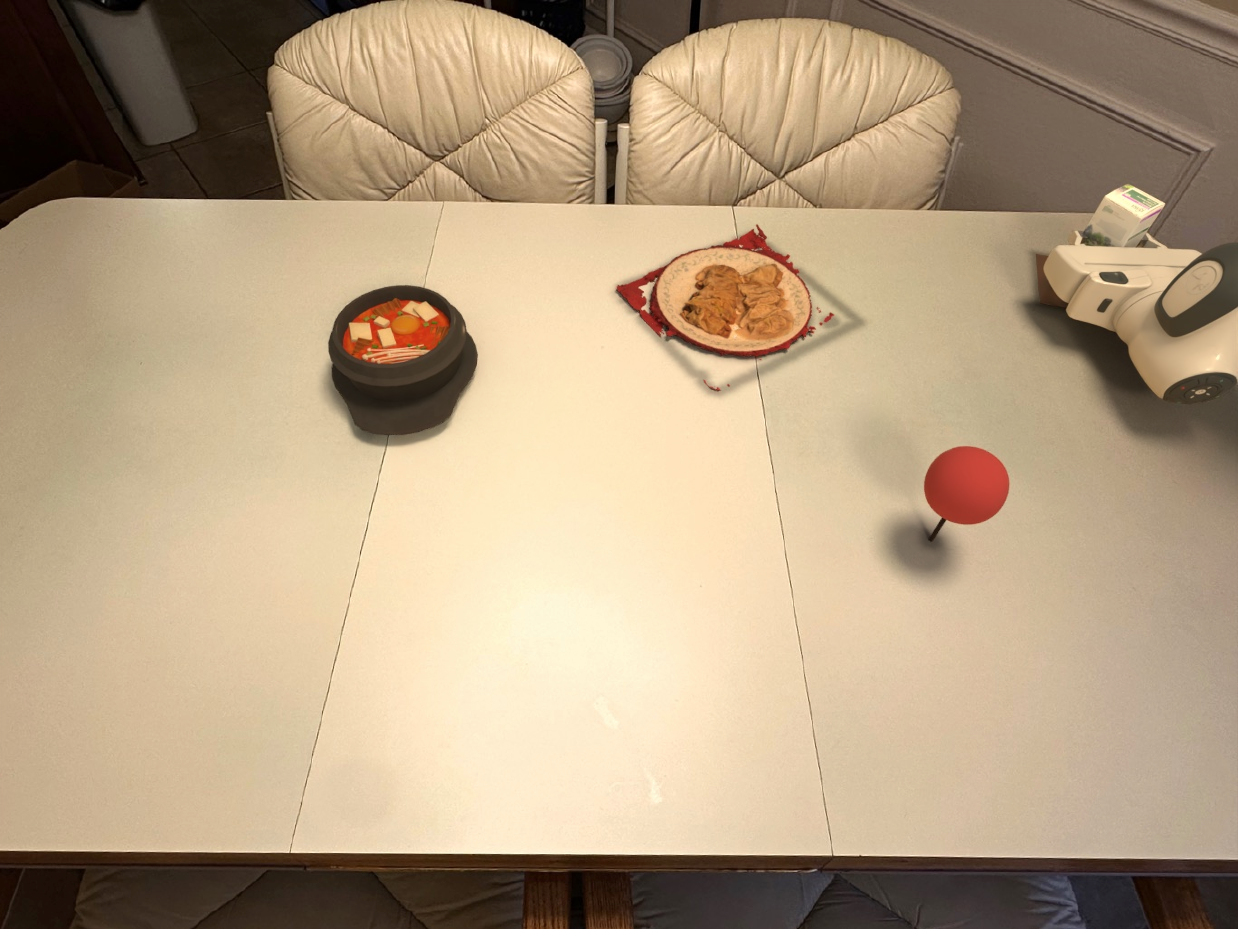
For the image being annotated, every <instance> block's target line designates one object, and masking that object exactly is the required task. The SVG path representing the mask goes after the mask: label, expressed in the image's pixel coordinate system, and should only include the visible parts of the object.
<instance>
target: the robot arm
mask: <svg viewBox="0 0 1238 929" xmlns="http://www.w3.org/2000/svg"><path fill="white" fill-rule="evenodd" d="M1087 238H1088V237H1087V235H1086V234H1085V231H1084V230H1072V231H1071V232H1070V234H1069V236H1068V237H1067V243H1068V244H1058V245H1056V246H1055V247H1054V248H1053V249H1052V250H1051V252H1050V253H1049V255H1047V256H1048V258H1047V260H1046V262H1045V264H1044V273H1045V275H1046V277H1047V279H1048V281H1049V283H1050V285H1051V287H1052V288H1053V290H1054V291H1055V293H1056V294H1057V296H1058V297H1059V298H1060V299H1062V300H1063V301H1065V302H1067V303H1069V304H1068V306H1067V308H1065V311H1066V314H1067V316H1068V317H1069V318H1070V319H1072V320H1076V321H1080V322H1085V323H1088V324H1092V325H1095V326H1098V327H1101V328H1104V329H1106V330H1108V331H1111V332H1115V333H1116V335H1117V336H1118V337H1119V339H1120V340H1121V341H1122V342H1123V343H1125V344H1126V345H1127V347H1128V348H1127V349H1128V355H1129V358H1130V360H1131V362H1132V364H1133V366H1134V368H1135V369H1136V371H1137V372H1138V374H1139V376H1140V377H1141V379H1142V380H1143V381H1144V383H1145V384H1146V386H1147V387H1148V388H1149V389H1150V390H1151V391H1152V392H1153V393H1154V394H1155V395H1156V396H1157V397H1158V398H1159V399H1161V400H1162V401H1165V402H1169V403H1173V404H1179V405H1194V404H1202V403H1207V402H1211V401H1214V400H1217V399H1218V398H1221V397H1222V396H1225V395H1226V394H1228V393H1230V392H1231V391H1232V390H1234V388H1236V386H1237V385H1238V242H1237V241H1236V242H1227V243H1223V244H1219V245H1217V246H1215V247H1212V248H1210V249H1208V250H1206V251H1204V252H1203V253H1202V252H1200V251H1198V250H1196V249H1185V248H1168V247H1167V246H1166V245H1164V244H1163V243H1160V242H1159V241H1157V240H1155V239H1153V238H1152V236H1151V234H1150V233H1148V232H1146V233H1145V235H1144V236H1143V238H1142V239H1141V241H1140V242H1139V243H1138V245H1137V246H1136V248H1133V247H1105V246H1086V245H1085V244H1084V242H1085V241H1086V240H1087Z"/></svg>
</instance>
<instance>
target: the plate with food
mask: <svg viewBox="0 0 1238 929" xmlns="http://www.w3.org/2000/svg"><path fill="white" fill-rule="evenodd" d="M755 227H756V229H757V231H758V234H757V233H756V232H755V228H752V229H750V230H749V231H748V232H747V233H745V234H742V235H741V236H740V238H735V239H732V240H730V241H725V242H724V243H723V245H722V244H717V245H711V246H710V247H707V248H706V247H705V248H698V249H693V250H689V251H687V252H685V253H681V254H679V255H678V256H675V257H674V258H672V259H671V261H670V262H668V263H667V264H666V265H664V266H661V267H659V268H657V269H655V270H652V271H649V272H648V273H647V274H645V275H644V276H643V277H641V278H638V279H635V280H633V281H631V282H629V283H625V284H621V285H620V284H617V286H616V290H617V292H618V293H620V294H621V295H622V297H623V299H626V301H628V303H629V305H630V306H631V307H632V308H633V309H635V310H637V311H639V313H640V315H641V318H642V320H644V322H645V323H647V325H648V326H649V327H650V328H651V329H652V330H653V331H654V332H655V333H656V334H658V335H659V337H660V338H662V335H664V334H665V335H666V336H667V337H672V336H676V337H678V338H680V339H682V340H684V342H686V343H688V344H691V345H693V346H695V347H698V348H700V349H703V350H705V351H708V352H712V353H716V354H718V355H720V356H721V357H722V356H726V355H729V356H736V357H745V358H748V357H750V358H751V357H755V358H757V357H759V356H762V355H768V354H770V353H773V352H776V351H780V350H789V349H790V347H791V345H792V344H793V342H795V341H797V340H798V339H799V337H800V336H803V338H807V333H808V332H810V333H811V334H815V330H817V328H816V327H815V326H811V325H809V326H808V324H809V321H810V320H811V319H812V316H813V315H812V313H813V310H812V309H813V305H812V303H813V302H812V300H811V299H810V298H811V295H810V294H811V293H810V291H809V289H808V287H807V284H806V282H805V280H803V279H802V278H801V277H800V275H798V274H800V270H799V269H798V268H794V263H793V261H790V262H788V260H789V259H790V258H791V255H790V254H786V255H783V254H782V253H780V252H775V250H773V249H772V248H771V247H770V246H769V245H768V244H767V242H766V240H767V239H768V236H767V235H766V234H765V233H764V231H763V230H762V229H761V228H760V226H759V224H758V223H756V224H755ZM654 281H655V282H654ZM651 282H654V285H653V286H652V292H651V294H650V296H651V297H650V302H649V305H650V306H649V310H650V313H648V311H647V310H646V309H642V308H643V307H644V306H645V305H646V304H647V300H648V299H647V298H646V296H644V295H643V294H644V293H645V290H643V289H641V288H640V287H643V286H646V285H648V284H649V283H651ZM815 310H816V311H818V312H817V313H818V314H820V313H822V310H821V309H820V307H819V306H816V307H815ZM828 314H829V315H827V316H826V317H825V318H824V320H823V322H824V323H828V322H829V321H830V320H832V317H834V316H835V313H833V312H829V313H828ZM823 322H819V323H818V324H819V326H821V327H822V326H823V324H824V323H823ZM663 329H664V330H663ZM667 329H668V330H667ZM803 346H804V345H803ZM751 359H752V358H751ZM758 361H762V358H758ZM703 382H704V383H705V385H708V384H707V381H706V379H703ZM726 386H727V387H730V383H727V385H726ZM715 387H716V386H715V385H714V386H709V385H708V388H711V389H713V390H716V391H721V389H720V387H718V386H717V387H716V388H715Z"/></svg>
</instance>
